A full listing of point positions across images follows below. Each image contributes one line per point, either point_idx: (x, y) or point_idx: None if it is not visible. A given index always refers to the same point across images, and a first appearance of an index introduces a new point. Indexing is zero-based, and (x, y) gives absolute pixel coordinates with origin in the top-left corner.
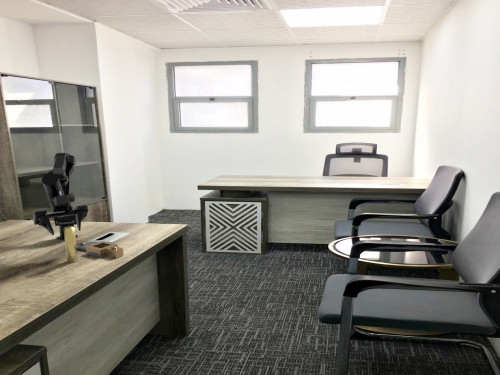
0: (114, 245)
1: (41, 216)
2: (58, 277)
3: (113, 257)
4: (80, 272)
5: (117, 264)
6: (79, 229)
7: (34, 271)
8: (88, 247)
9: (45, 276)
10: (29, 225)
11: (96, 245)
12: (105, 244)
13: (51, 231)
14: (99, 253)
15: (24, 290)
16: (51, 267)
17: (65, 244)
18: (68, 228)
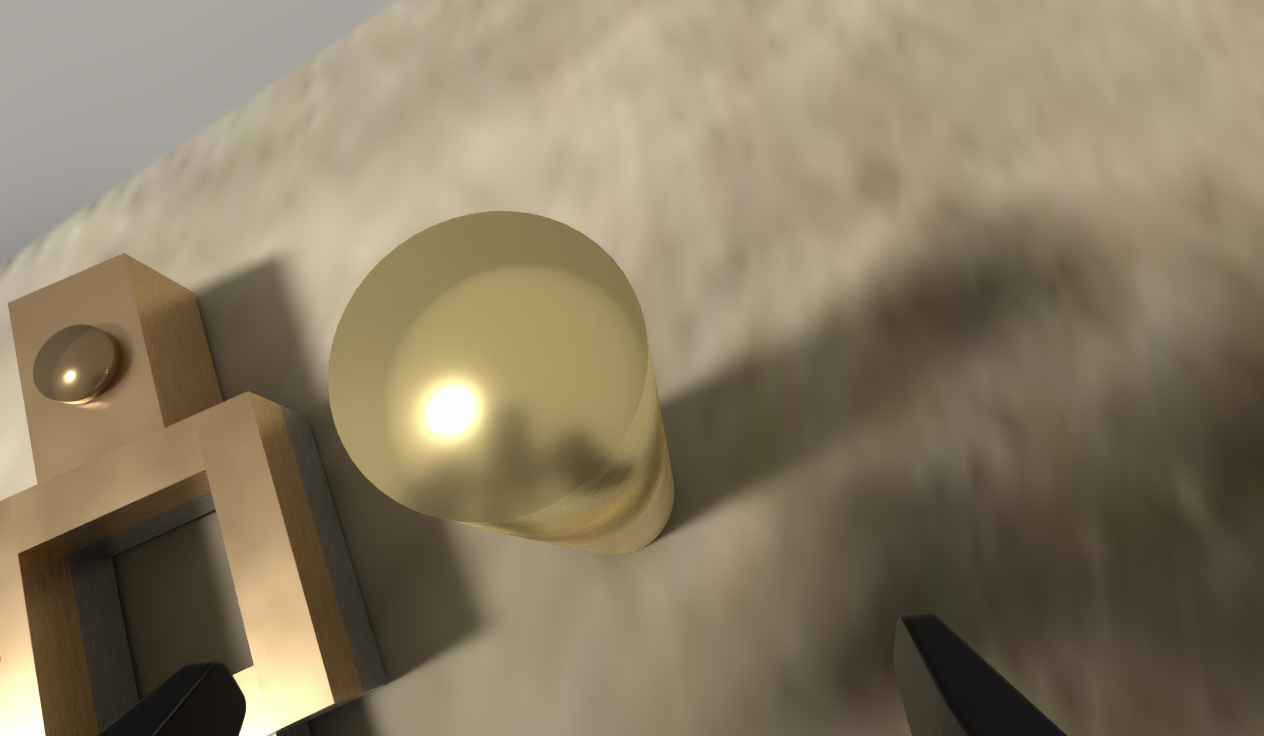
0: (11, 497)
1: None
2: (811, 104)
3: (201, 326)
4: (610, 122)
5: (262, 142)
6: (214, 665)
7: (1044, 401)
8: (317, 637)
9: (926, 189)
10: None
11: None
12: (58, 695)
13: (998, 673)
14: (281, 417)
15: None
16: (856, 427)
17: (665, 437)
18: (533, 267)
